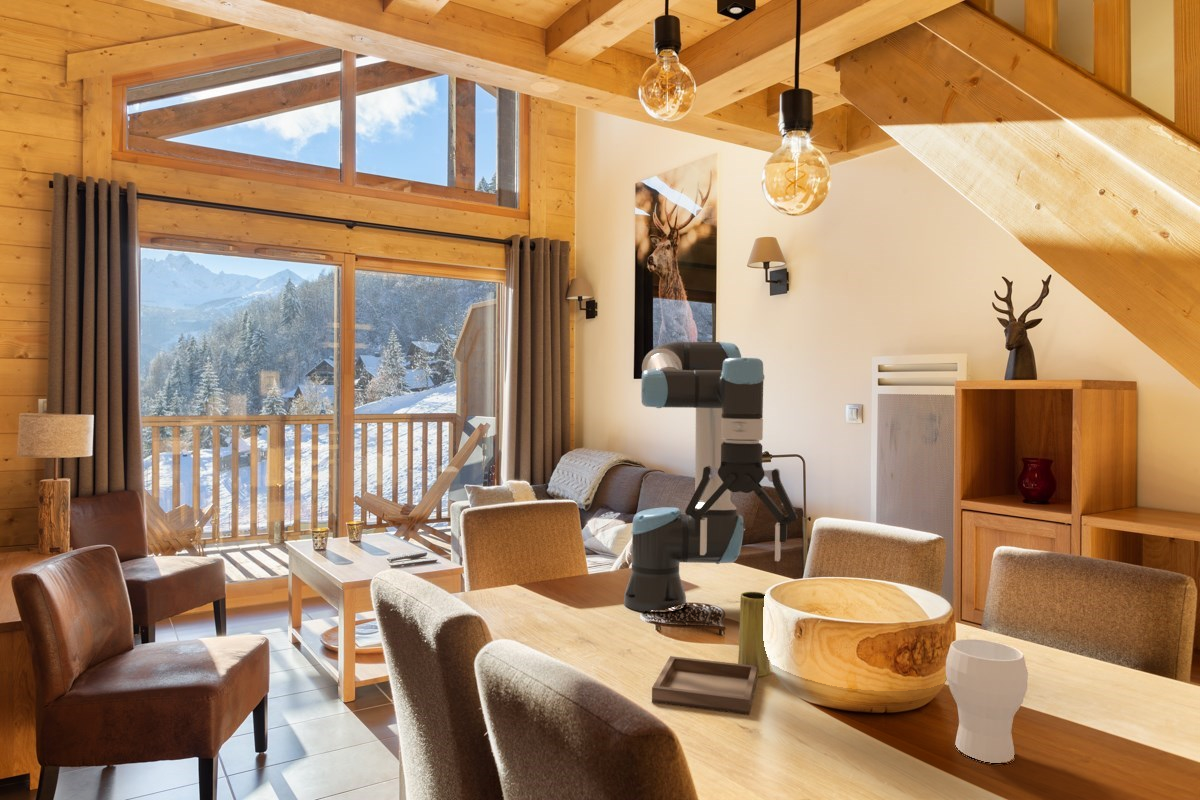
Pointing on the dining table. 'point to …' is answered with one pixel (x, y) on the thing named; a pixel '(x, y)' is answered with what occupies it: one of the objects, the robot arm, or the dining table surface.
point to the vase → (752, 633)
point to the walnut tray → (706, 685)
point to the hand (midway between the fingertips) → (739, 556)
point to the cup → (986, 696)
